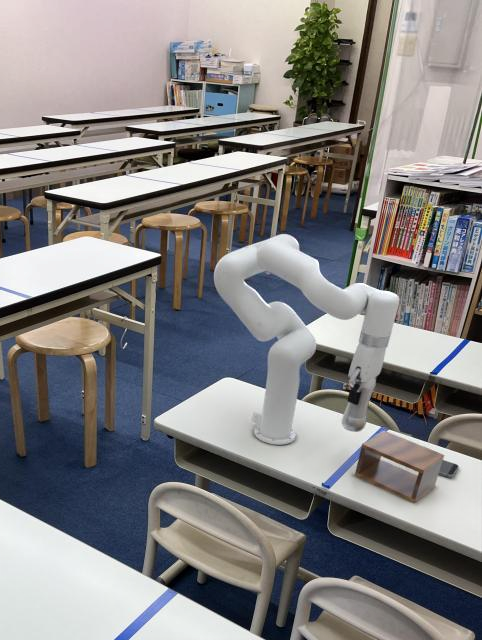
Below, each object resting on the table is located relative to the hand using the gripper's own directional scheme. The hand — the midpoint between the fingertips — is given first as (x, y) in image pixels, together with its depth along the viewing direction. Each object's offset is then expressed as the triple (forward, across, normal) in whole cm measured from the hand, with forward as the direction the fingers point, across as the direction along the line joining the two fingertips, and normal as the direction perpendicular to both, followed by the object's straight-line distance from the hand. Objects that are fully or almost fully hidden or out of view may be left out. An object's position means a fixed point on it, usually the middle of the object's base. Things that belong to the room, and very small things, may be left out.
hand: (359, 399), depth 193 cm
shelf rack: (+19, 0, +16) cm, 25 cm away
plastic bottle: (+10, 0, 0) cm, 10 cm away
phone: (+19, -16, +18) cm, 31 cm away
